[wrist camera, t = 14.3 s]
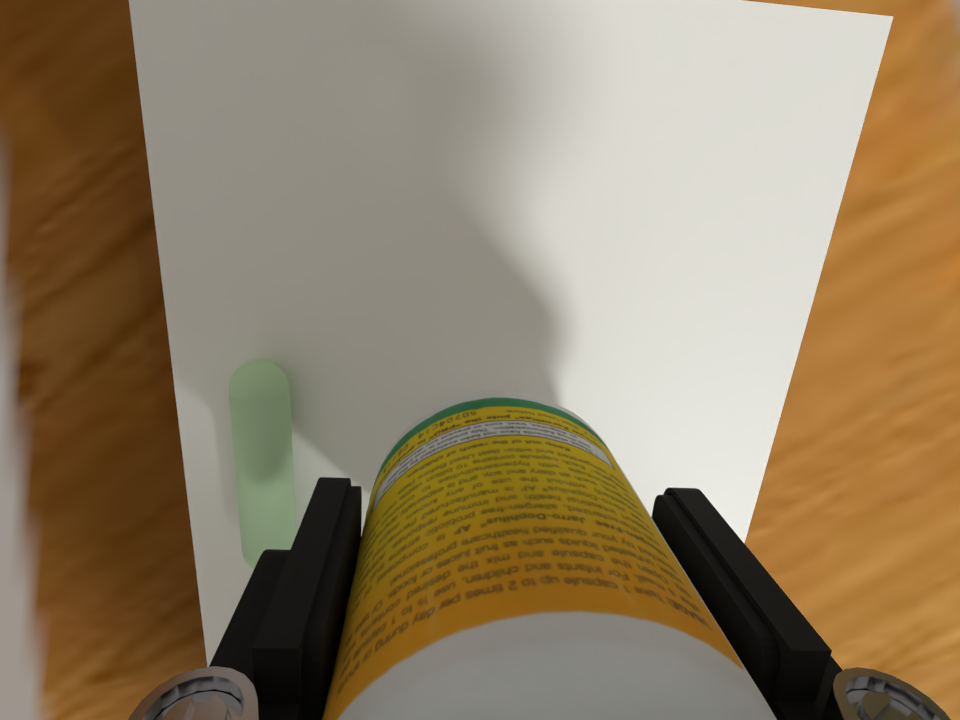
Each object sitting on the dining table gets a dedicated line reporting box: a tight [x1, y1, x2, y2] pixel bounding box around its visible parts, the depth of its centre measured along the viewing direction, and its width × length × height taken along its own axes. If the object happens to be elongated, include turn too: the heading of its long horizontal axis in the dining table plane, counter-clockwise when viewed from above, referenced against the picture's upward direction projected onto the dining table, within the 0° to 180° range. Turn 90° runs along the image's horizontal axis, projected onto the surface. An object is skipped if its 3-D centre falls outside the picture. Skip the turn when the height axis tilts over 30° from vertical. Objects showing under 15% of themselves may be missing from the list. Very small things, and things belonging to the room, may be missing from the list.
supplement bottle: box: [322, 391, 777, 720], centre depth 8 cm, size 5×5×10 cm
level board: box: [129, 0, 893, 667], centre depth 14 cm, size 20×14×3 cm
